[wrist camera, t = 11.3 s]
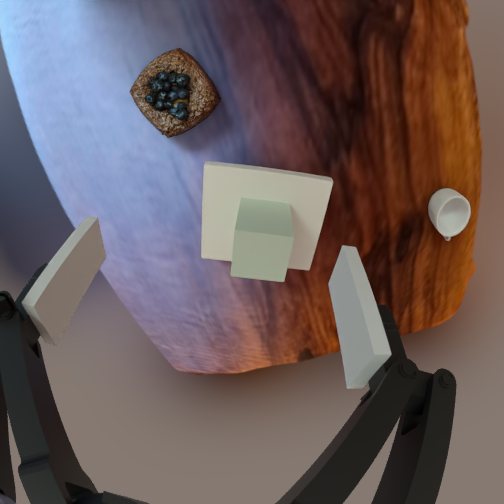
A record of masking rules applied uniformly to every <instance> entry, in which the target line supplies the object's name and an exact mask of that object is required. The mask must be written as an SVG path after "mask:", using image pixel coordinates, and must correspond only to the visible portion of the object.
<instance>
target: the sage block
mask: <svg viewBox="0 0 504 504" xmlns="http://www.w3.org/2000/svg"><path fill="white" fill-rule="evenodd" d="M293 241H294V231H293V223H292V216H291V208H290V203H283V202H276V201H268V200H260V199H252V198H243V197H241V200H240V205H239V210H238V215H237V220H236V225H235V231H234V242H233V253H232V265H231V276H235V277H243V278H252V279H261V280H269V281H278V282H284V280H285V276H286V272H287V267H288V263H289V259H290V254H291V250H292V246H293Z"/></svg>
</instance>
